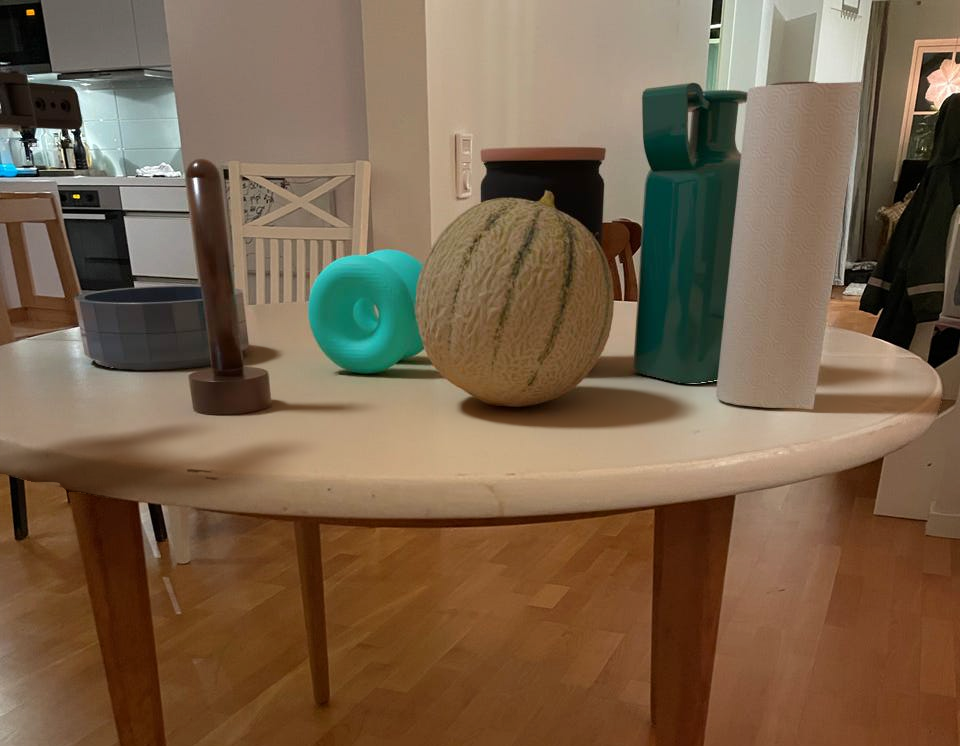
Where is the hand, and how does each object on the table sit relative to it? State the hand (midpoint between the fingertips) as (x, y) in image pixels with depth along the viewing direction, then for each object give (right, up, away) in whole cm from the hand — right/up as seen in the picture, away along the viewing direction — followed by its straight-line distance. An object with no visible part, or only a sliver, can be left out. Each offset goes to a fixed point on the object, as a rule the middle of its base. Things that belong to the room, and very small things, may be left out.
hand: (33, 112), depth 56 cm
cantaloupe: (+30, -14, +15) cm, 37 cm away
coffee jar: (+33, -7, +30) cm, 45 cm away
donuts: (+18, -7, +30) cm, 36 cm away
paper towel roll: (+49, -14, +15) cm, 53 cm away
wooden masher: (+8, -14, +16) cm, 22 cm away
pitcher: (+46, -9, +25) cm, 53 cm away
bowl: (-4, -4, +36) cm, 36 cm away
